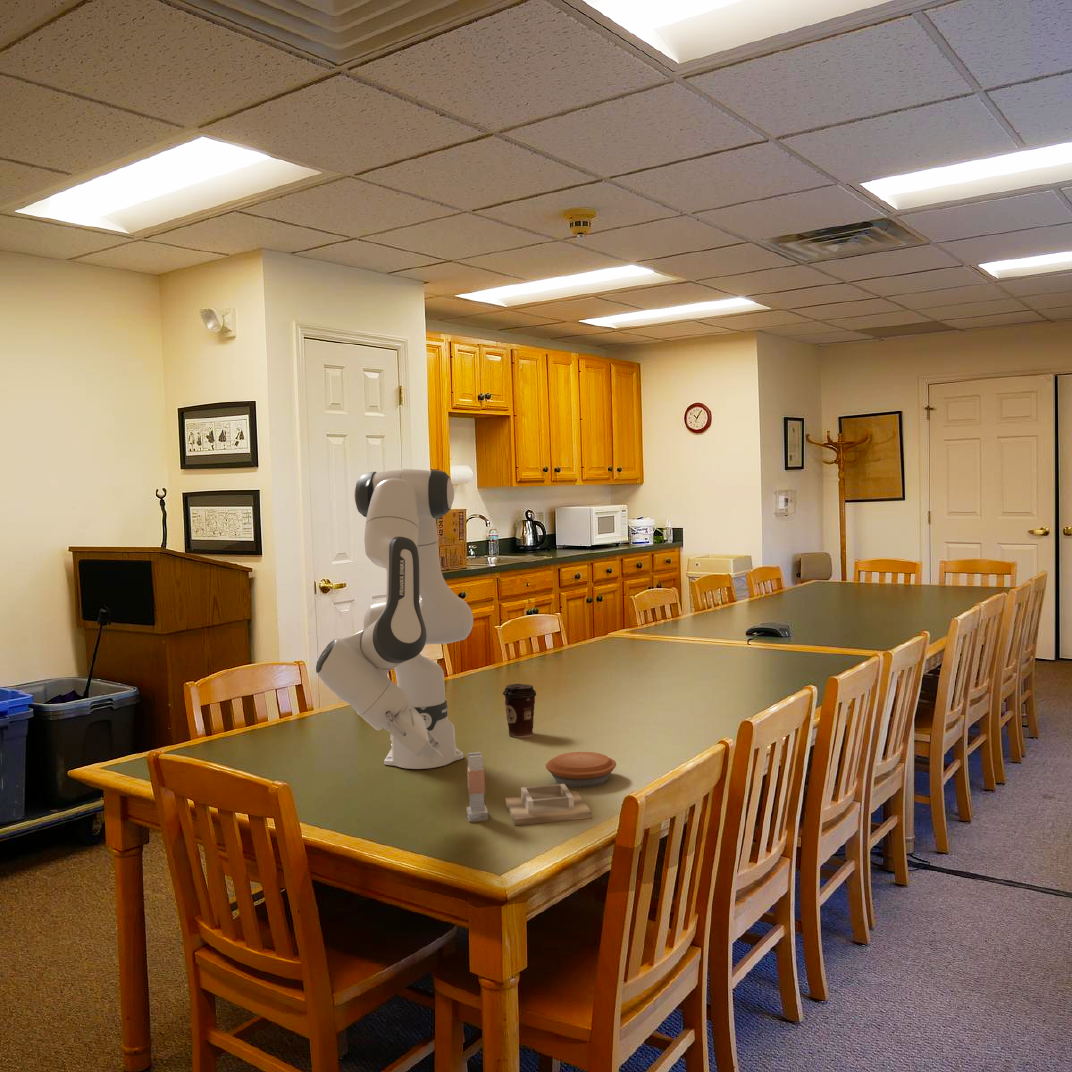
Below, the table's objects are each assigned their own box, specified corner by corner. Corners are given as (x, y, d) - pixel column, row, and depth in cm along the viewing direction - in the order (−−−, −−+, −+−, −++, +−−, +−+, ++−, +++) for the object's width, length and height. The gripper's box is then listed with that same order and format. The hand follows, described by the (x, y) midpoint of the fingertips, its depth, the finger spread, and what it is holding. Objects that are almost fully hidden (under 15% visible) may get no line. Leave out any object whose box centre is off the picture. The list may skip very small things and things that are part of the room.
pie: (612, 768, 217) (611, 746, 217) (620, 789, 201) (620, 766, 201) (544, 771, 216) (544, 749, 216) (547, 792, 201) (547, 769, 201)
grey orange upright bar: (466, 814, 189) (464, 752, 188) (485, 812, 189) (483, 750, 189) (468, 821, 184) (466, 758, 184) (488, 820, 185) (486, 756, 184)
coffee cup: (508, 740, 243) (506, 690, 242) (500, 733, 251) (498, 684, 250) (541, 737, 245) (539, 687, 244) (532, 729, 253) (530, 681, 252)
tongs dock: (505, 803, 194) (504, 785, 194) (577, 797, 197) (576, 779, 197) (515, 825, 182) (514, 806, 181) (591, 818, 184) (590, 799, 184)
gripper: (399, 706, 173) (454, 755, 175) (396, 685, 193) (446, 729, 195) (375, 733, 172) (431, 781, 174) (374, 708, 192) (425, 752, 194)
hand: (439, 753), depth 185 cm, fingers open, 8 cm apart
